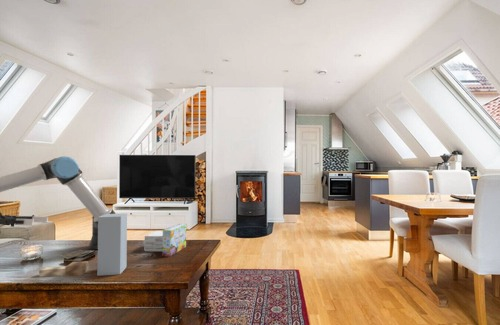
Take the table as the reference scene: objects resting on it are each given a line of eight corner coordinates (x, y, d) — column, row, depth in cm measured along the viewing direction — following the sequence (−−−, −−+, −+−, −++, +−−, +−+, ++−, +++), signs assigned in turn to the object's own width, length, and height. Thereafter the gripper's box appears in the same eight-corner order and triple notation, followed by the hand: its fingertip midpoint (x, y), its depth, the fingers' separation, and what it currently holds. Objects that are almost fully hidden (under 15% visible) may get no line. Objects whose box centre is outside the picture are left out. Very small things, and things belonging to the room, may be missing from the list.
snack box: (170, 257, 153) (170, 230, 153) (161, 256, 154) (161, 229, 155) (186, 246, 174) (186, 223, 174) (178, 246, 175) (178, 223, 175)
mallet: (36, 278, 123) (36, 268, 123) (45, 272, 130) (45, 263, 130) (81, 275, 126) (81, 265, 126) (88, 270, 133) (88, 261, 133)
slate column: (97, 275, 126) (98, 217, 127) (105, 268, 135) (106, 214, 136) (120, 274, 127) (120, 216, 128) (126, 266, 137) (127, 213, 138)
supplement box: (165, 251, 164) (165, 236, 164) (144, 251, 164) (144, 236, 165) (174, 244, 181) (174, 230, 181) (154, 244, 181) (155, 230, 181)
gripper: (3, 224, 135) (51, 226, 140) (-36, 231, 111) (24, 232, 116) (6, 209, 136) (54, 211, 141) (-32, 212, 112) (27, 214, 117)
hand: (40, 221), depth 129 cm, fingers open, 13 cm apart
